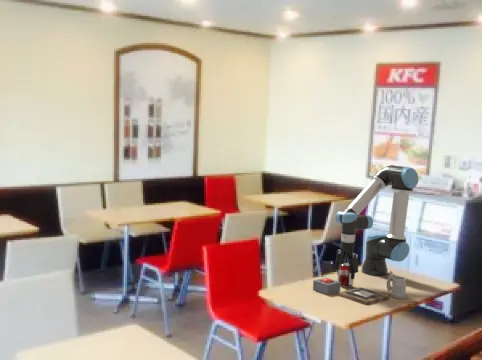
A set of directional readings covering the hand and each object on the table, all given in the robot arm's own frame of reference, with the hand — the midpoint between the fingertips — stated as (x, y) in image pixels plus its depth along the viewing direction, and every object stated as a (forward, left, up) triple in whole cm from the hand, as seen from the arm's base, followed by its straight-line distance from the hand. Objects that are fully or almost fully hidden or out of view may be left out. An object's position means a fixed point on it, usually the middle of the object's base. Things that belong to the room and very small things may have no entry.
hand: (345, 282), depth 319 cm
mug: (-9, +26, -2) cm, 28 cm away
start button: (+16, +1, -1) cm, 16 cm away
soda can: (0, 0, -2) cm, 2 cm away
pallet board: (+8, +19, -2) cm, 21 cm away
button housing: (+16, +1, -2) cm, 16 cm away
